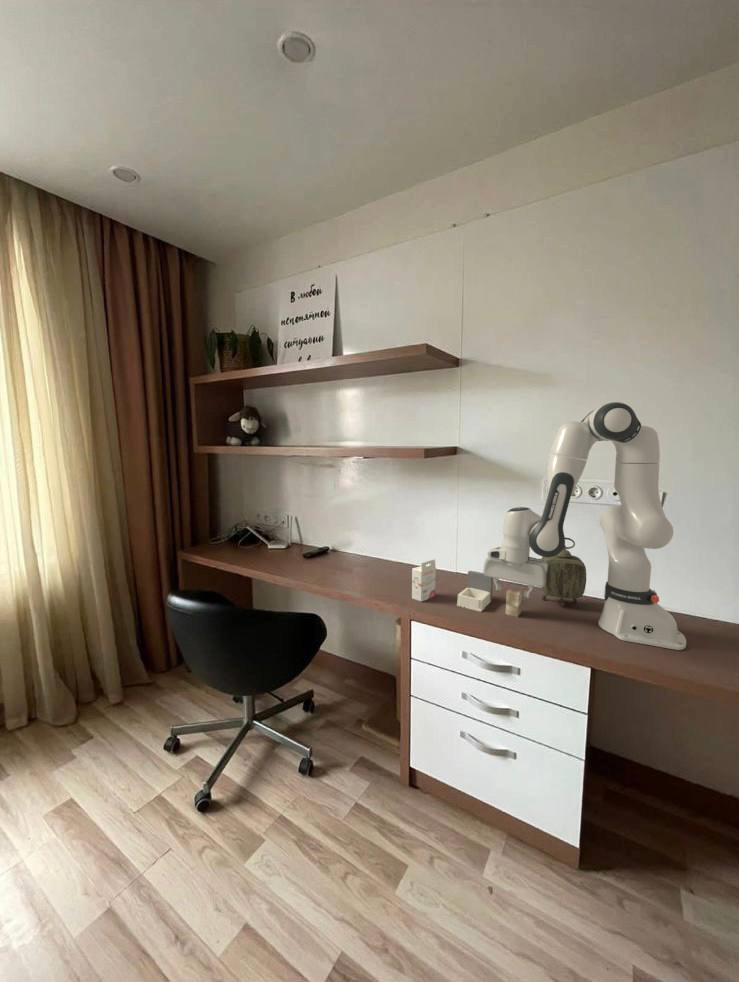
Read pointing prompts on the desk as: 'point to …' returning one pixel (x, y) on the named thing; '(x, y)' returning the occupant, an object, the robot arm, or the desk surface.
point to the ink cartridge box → (424, 581)
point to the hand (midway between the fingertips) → (512, 593)
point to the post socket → (476, 592)
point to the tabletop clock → (565, 576)
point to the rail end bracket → (513, 602)
